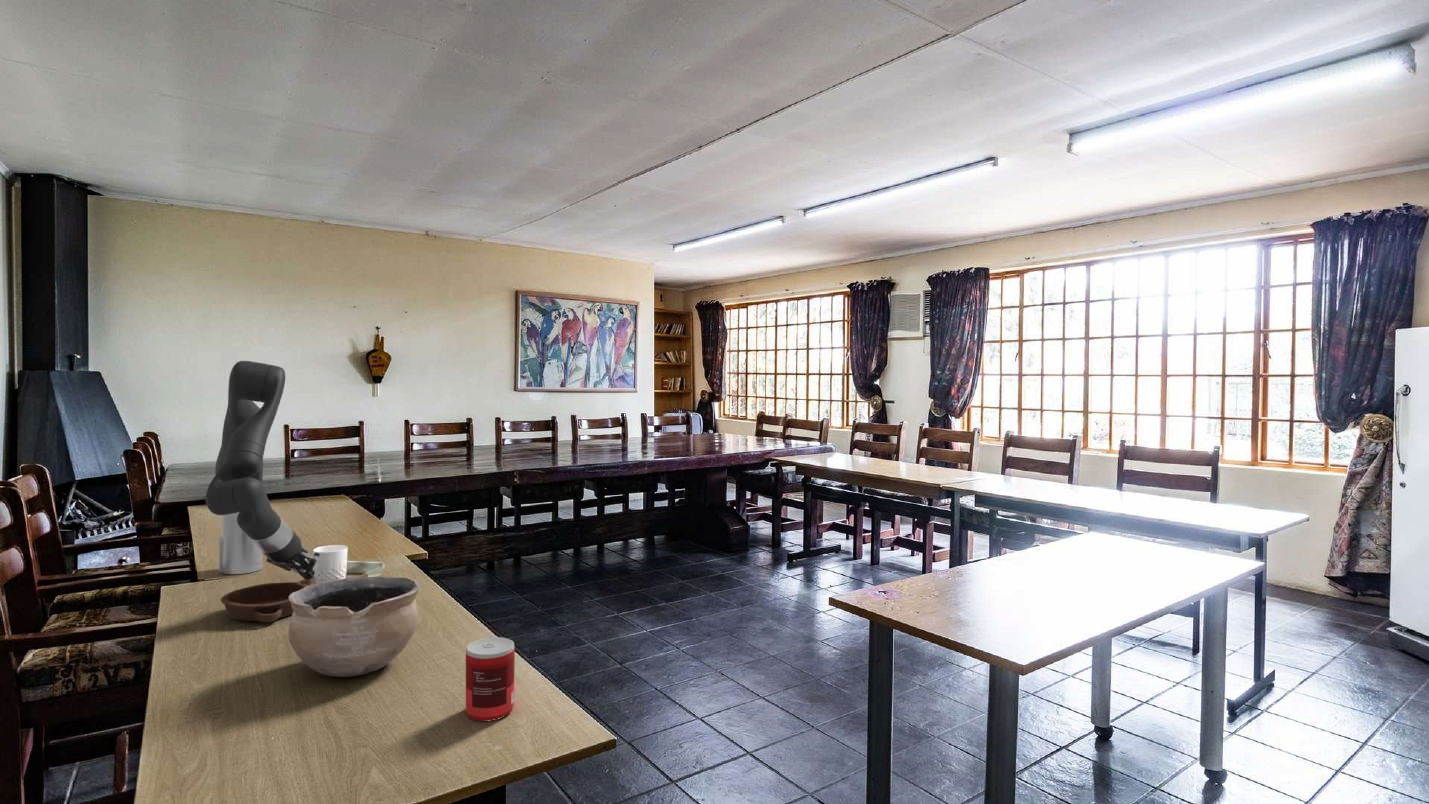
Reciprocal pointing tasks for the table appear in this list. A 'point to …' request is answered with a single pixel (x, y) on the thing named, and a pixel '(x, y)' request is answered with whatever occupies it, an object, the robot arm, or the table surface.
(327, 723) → the table surface
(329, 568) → the white cup
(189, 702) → the table surface
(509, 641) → the canned food
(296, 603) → the ceramic bowl
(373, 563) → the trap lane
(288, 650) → the table surface
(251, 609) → the dish
